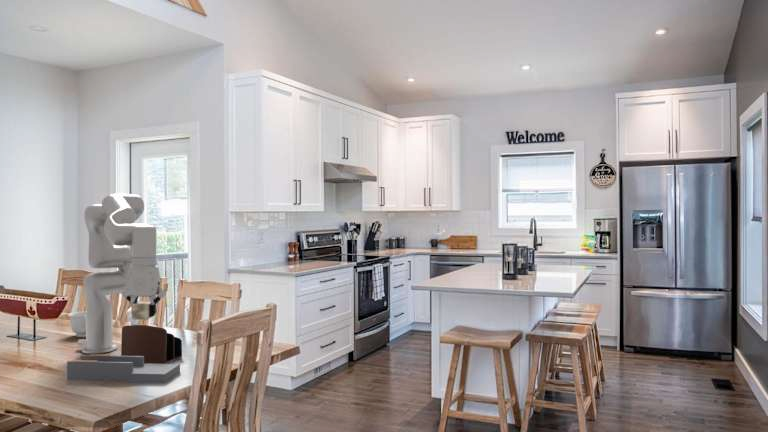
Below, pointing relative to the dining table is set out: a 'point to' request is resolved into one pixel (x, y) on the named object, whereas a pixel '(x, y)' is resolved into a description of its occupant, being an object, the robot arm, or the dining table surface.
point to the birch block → (140, 310)
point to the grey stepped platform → (120, 369)
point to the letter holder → (150, 344)
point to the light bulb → (129, 315)
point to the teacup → (78, 323)
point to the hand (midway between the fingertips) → (143, 315)
